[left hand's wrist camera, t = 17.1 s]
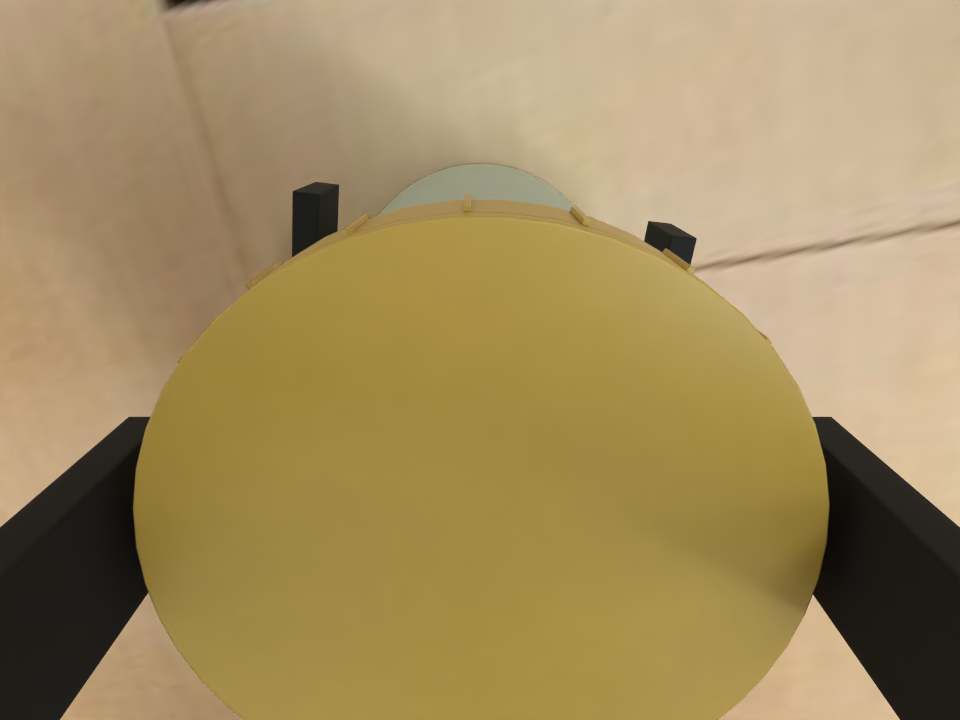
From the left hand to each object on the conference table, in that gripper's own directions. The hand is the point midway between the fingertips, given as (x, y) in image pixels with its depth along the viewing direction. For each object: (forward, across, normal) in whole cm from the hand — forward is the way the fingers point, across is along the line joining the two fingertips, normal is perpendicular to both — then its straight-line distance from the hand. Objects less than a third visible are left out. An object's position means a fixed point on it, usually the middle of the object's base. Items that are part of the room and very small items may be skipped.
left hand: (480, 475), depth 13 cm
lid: (-2, 0, 0) cm, 2 cm away
